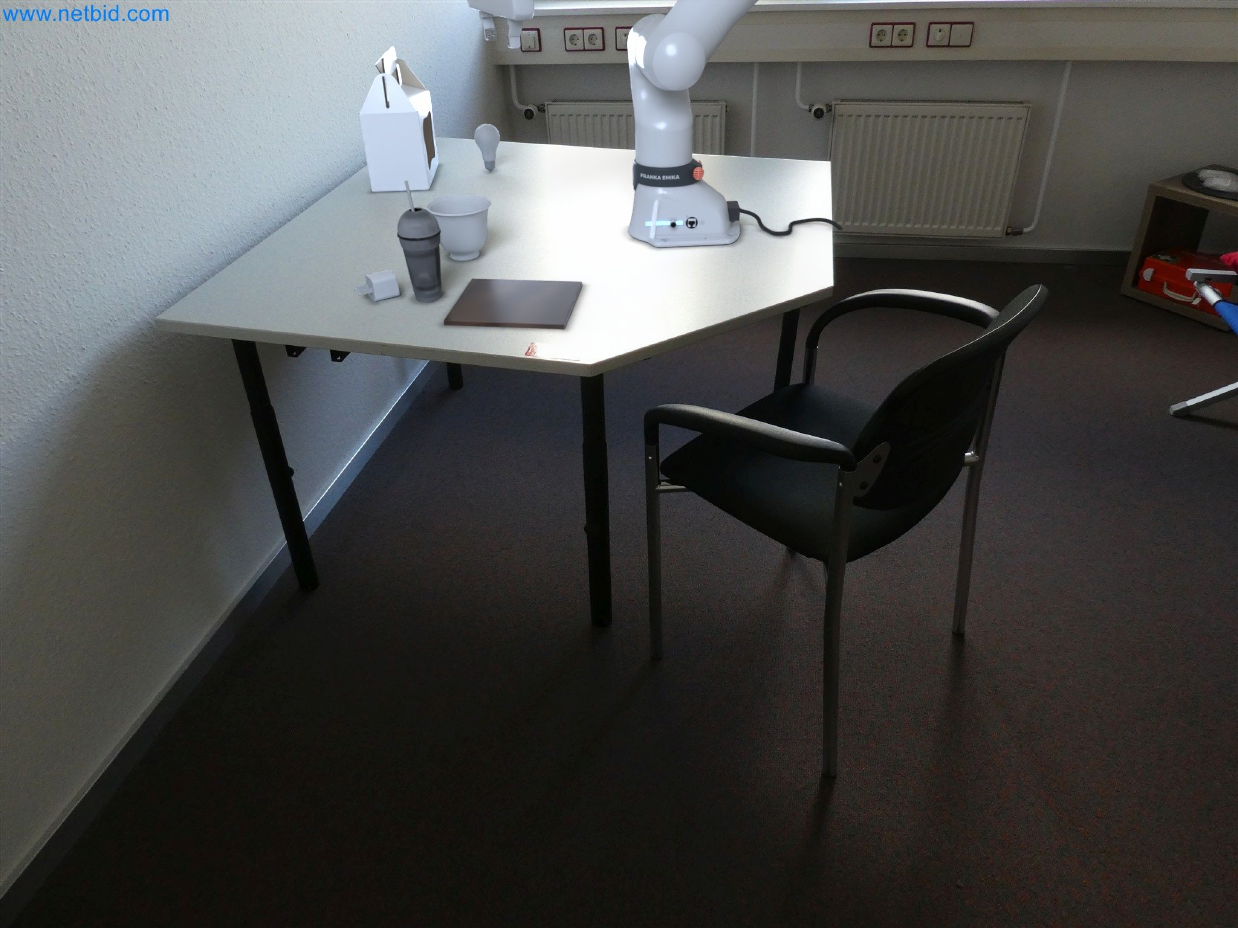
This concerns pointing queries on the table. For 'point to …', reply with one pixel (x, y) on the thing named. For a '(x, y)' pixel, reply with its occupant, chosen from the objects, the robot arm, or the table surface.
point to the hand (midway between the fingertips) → (502, 44)
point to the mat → (515, 303)
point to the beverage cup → (421, 251)
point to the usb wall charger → (380, 285)
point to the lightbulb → (487, 144)
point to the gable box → (398, 129)
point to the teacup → (461, 224)
